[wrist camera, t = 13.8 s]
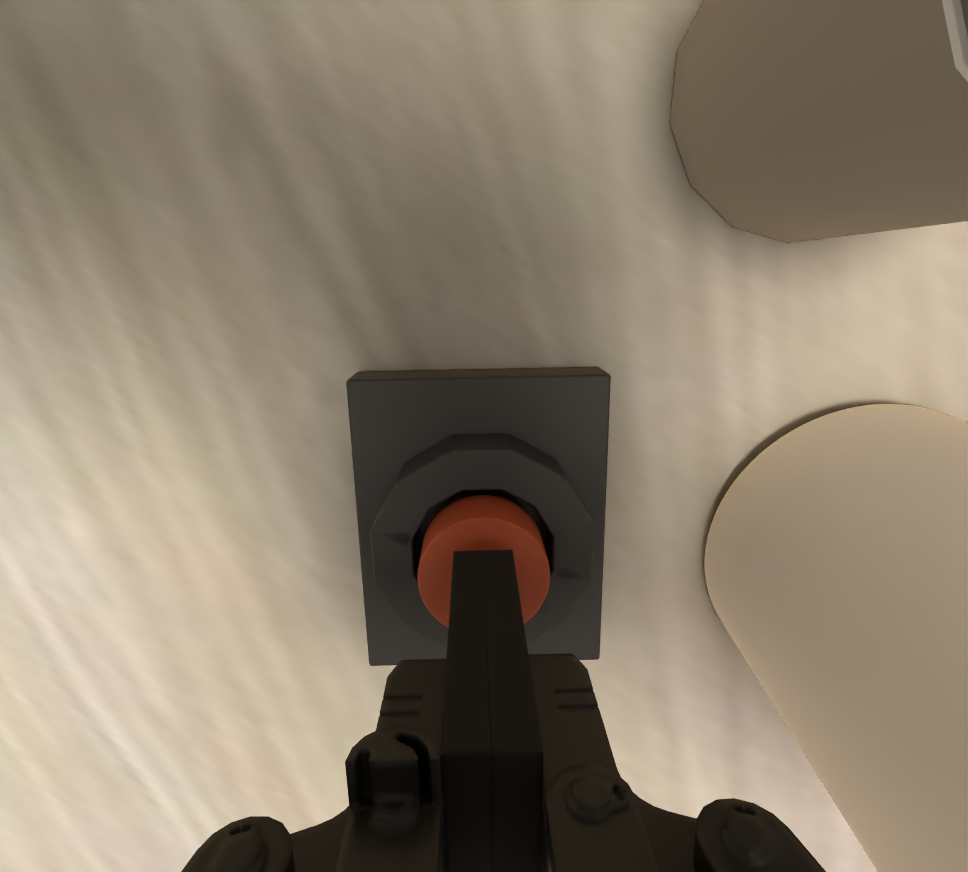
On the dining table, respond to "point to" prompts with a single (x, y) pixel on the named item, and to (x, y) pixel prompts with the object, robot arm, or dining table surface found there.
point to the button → (482, 529)
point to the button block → (480, 490)
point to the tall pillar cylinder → (861, 616)
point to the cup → (826, 114)
